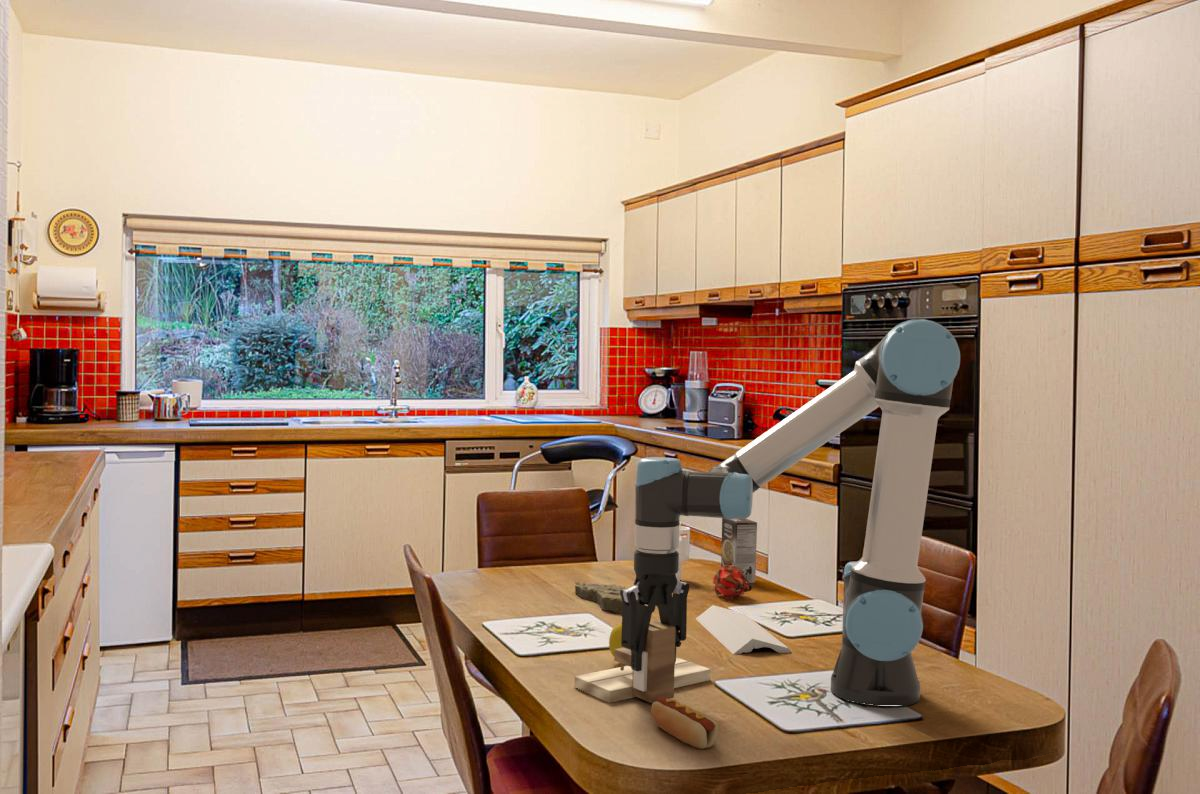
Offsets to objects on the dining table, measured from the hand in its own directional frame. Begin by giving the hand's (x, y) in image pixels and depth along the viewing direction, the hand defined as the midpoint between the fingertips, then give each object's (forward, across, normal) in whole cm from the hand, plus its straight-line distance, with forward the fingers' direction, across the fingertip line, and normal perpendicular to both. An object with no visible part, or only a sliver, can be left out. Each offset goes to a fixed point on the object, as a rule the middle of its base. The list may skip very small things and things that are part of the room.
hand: (653, 685), depth 179 cm
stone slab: (+3, -39, -63) cm, 74 cm away
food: (+3, +8, +16) cm, 18 cm away
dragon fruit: (+3, -67, -50) cm, 84 cm away
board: (+2, -4, -8) cm, 9 cm away
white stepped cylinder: (+3, -69, -73) cm, 100 cm away
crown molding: (+3, -43, -23) cm, 49 cm away
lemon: (+3, -9, -20) cm, 22 cm away
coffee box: (+3, -83, -65) cm, 106 cm away
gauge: (+2, 0, -3) cm, 4 cm away
